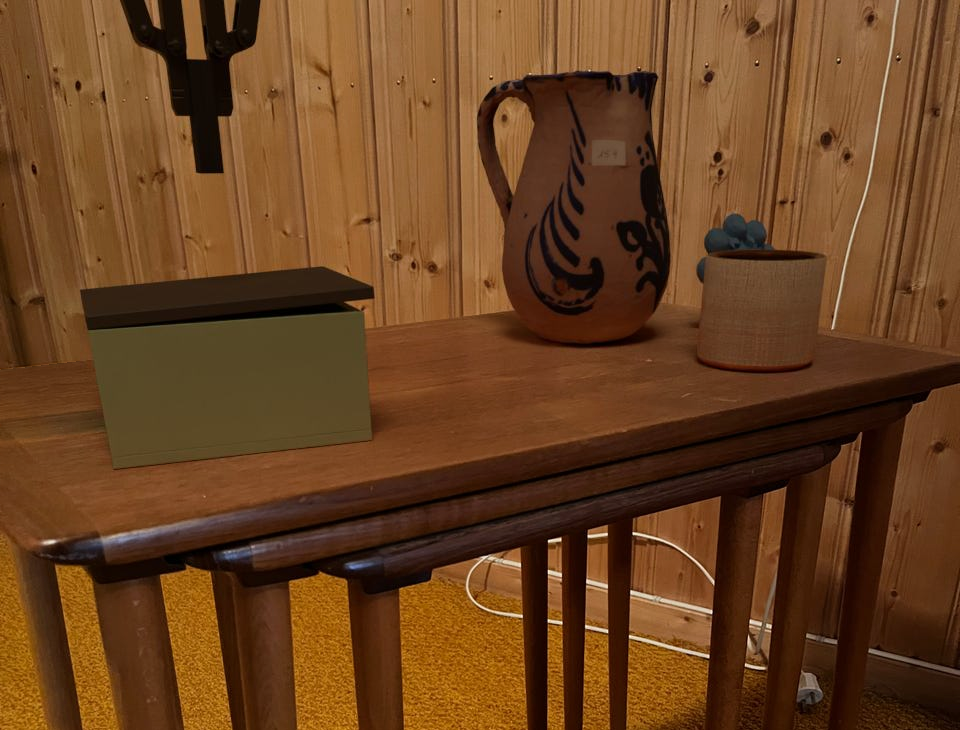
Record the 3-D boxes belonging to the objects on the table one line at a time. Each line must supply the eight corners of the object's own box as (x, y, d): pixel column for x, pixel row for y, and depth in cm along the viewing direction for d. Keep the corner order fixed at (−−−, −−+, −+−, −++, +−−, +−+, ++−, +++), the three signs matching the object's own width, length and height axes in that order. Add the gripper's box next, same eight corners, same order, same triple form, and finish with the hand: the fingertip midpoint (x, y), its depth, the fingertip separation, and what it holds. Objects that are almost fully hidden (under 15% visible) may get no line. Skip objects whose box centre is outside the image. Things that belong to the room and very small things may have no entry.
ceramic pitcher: (650, 356, 96) (668, 62, 85) (449, 347, 102) (441, 72, 91) (676, 328, 111) (694, 75, 100) (499, 321, 117) (498, 82, 106)
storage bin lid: (324, 276, 78) (323, 266, 77) (375, 298, 66) (373, 286, 65) (82, 300, 72) (79, 289, 72) (87, 329, 60) (84, 316, 60)
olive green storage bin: (325, 398, 82) (315, 287, 78) (372, 440, 70) (364, 311, 66) (104, 419, 76) (82, 301, 72) (113, 469, 64) (87, 330, 60)
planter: (820, 355, 95) (835, 250, 91) (804, 377, 87) (820, 262, 82) (709, 348, 99) (718, 247, 95) (684, 368, 91) (692, 258, 86)
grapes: (720, 337, 105) (731, 216, 100) (678, 329, 110) (687, 214, 105) (797, 327, 110) (812, 212, 105) (754, 320, 116) (766, 209, 110)
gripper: (31, -338, 50) (110, 175, 60) (286, -300, 54) (317, 173, 64) (33, -284, 56) (105, 172, 66) (261, -253, 60) (294, 171, 71)
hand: (209, 172), depth 65 cm, fingers closed
